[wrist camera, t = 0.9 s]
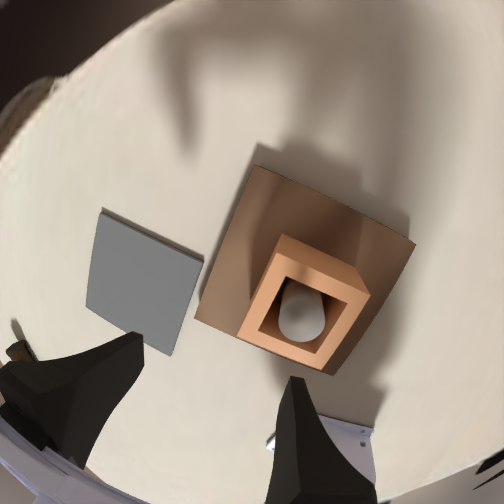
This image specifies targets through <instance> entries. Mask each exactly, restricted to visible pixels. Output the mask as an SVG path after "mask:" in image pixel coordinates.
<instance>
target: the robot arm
mask: <svg viewBox="0 0 504 504" xmlns="http://www.w3.org/2000/svg"><path fill="white" fill-rule="evenodd" d="M143 367H144V344H143V335H142V334H139V333H137V332H134V331H132V332H129V333H127V334H125V335H123V336H120V337H118V338H116V339H114V340H112V341H110V342H107V343H105V344H103V345H100V346H98V347H95V348H93V349H90V350H88V351H85V352H82V353H79V354H76V355H72V356H68V357H64V358H59V359H53V360H47V361H34V362H21V361H9V362H8V363H7V364H5V365H4V366H3V367H2V368H0V392H1V394H2V396H3V397H4V399H5V401H6V402H5V403H4V404H3V405H2V403H1V402H0V463H2V465H3V466H4V467H5V468H6V469H7V470H9V472H11V473H12V474H13V475H14V476H15V477H16V478H17V479H18V480H19V481H20V482H21V483H23V484H24V485H25V486H26V487H27V488H28V489H30V490H31V491H32V492H33V493H34V494H36V495H37V498H36V499H35V500H34V501H33V503H32V504H150V503H147V502H145V501H143V500H140V499H138V498H136V497H133V496H131V495H129V494H127V493H125V492H122V491H120V490H118V489H116V488H114V487H112V486H110V485H108V484H107V483H105V482H103V481H101V480H99V479H97V478H95V477H94V476H92V475H90V474H88V473H86V472H85V471H83V470H84V467H85V465H86V462H87V459H88V457H89V455H90V452H91V450H92V448H93V446H94V444H95V442H96V439H97V438H98V436H99V434H100V432H101V430H102V428H103V426H104V424H105V423H106V421H107V419H108V418H109V416H110V414H111V413H112V411H113V410H114V409H115V407H116V406H117V405H118V403H119V402H120V401H121V399H122V398H123V397H124V396H125V394H126V393H127V392H128V390H129V389H130V388H131V387H132V385H133V384H134V383H135V381H136V380H137V378H138V376H139V374H140V373H141V371H142V369H143ZM373 433H374V429H373V428H369V427H364V426H360V425H355V424H351V423H347V422H343V421H339V420H336V419H332V418H328V417H325V416H321V415H318V414H317V412H316V410H315V407H314V405H313V403H312V400H311V398H310V395H309V392H308V389H307V386H306V383H305V380H304V378H300V377H294V376H290V378H289V381H288V384H287V386H286V389H285V392H284V394H283V397H282V399H281V402H280V405H279V410H278V415H277V421H276V434H275V436H274V437H273V438H272V439H271V440H270V441H269V442H268V443H267V444H266V449H267V450H270V451H274V462H273V469H272V474H271V479H270V484H269V489H268V493H267V497H266V502H264V504H377V495H376V490H375V482H376V473H375V466H374V459H373V453H372V447H371V441H370V436H371V435H372V434H373Z"/></svg>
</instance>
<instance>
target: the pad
mask: <svg viewBox="0 0 504 504" xmlns="http://www.w3.org/2000/svg"><path fill="white" fill-rule="evenodd" d="M203 264H204V261H202V260H199V259H197V258H195V257H193V256H191V255H189V254H187V253H185V252H182V251H180V250H178V249H176V248H174V247H172V246H170V245H168V244H166V243H164V242H162V241H159V240H157V239H155V238H153V237H151V236H149V235H147V234H145V233H143V232H141V231H139V230H137V229H135V228H133V227H131V226H129V225H127V224H125V223H123V222H121V221H119V220H117V219H115V218H113V217H111V216H109V215H107V214H105V213H103V212H102V213H100V214H99V218H98V223H97V228H96V233H95V239H94V245H93V251H92V257H91V264H90V271H89V278H88V287H87V297H86V307H87V308H88V309H90V310H91V311H93V312H94V313H96V314H97V315H99V316H100V317H102V318H104V319H105V320H107V321H108V322H110V323H112V324H113V325H115V326H116V327H118V328H120V329H121V330H123V331H125V332H126V333H129V332H132V331H134V332H137V333H139V334H142V335H143V342H144V343H146V344H147V345H149V346H151V347H153V348H155V349H157V350H159V351H160V352H162V353H164V354H166V355H168V356H170V357H171V355H172V353H173V350H174V347H175V344H176V341H177V338H178V335H179V332H180V329H181V326H182V323H183V320H184V317H185V314H186V311H187V308H188V305H189V303H190V300H191V297H192V294H193V291H194V288H195V286H196V283H197V280H198V277H199V275H200V272H201V269H202V266H203Z"/></svg>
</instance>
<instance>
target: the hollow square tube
mask: <svg viewBox="0 0 504 504" xmlns="http://www.w3.org/2000/svg"><path fill="white" fill-rule="evenodd" d="M285 276H287V277H290V278H292V279H294V280H296V281H299V282H301V283H303V284H305V285H308V286H310V287H312V288H314V289H317V290H319V291H321V292H323V293H326V295H325V297H324V299H323V301H322V303H323V309H324V316H325V326H324V329H323V331H322V332H321V334H320V335H319V336H317V337H316V338H314V339H313V340H310V341H306V342H296V341H293V340H290V339H288V338H287V337H285V336H284V335H283V333H282V332H281V330H280V328H279V315H280V308H281V303H279V302H277V301H275V300H274V298H275V296H276V294H277V292H278V290H279V288H280V286H281V284H282V282H283V280H284V278H285ZM370 296H371V295H370V293H369V292H368V290H367V288H366V286H365V284H364V282H363V280H362V279H361V277H360V275H359V273H358V271H357V270H356V268H355V267H353V266H351V265H349V264H347V263H345V262H343V261H341V260H339V259H337V258H334V257H332V256H330V255H328V254H326V253H324V252H322V251H319V250H317V249H315V248H313V247H311V246H309V245H307V244H304V243H302V242H300V241H298V240H296V239H293V238H291V237H289V236H287V235H285V234H281V236H280V238H279V240H278V243H277V245H276V247H275V249H274V251H273V253H272V256H271V258H270V260H269V262H268V264H267V266H266V269H265V271H264V273H263V275H262V277H261V279H260V281H259V284H258V286H257V288H256V290H255V292H254V294H253V296H252V298H251V301H250V303H249V305H248V308H247V311H246V313H245V316H244V318H243V321H242V324H241V326H240V329H239V331H238V334H237V337H240V338H242V339H244V340H246V341H249V342H251V343H253V344H256V345H258V346H261V347H263V348H265V349H268V350H270V351H273V352H275V353H278V354H280V355H283V356H285V357H288V358H290V359H293V360H295V361H298V362H301V363H303V364H306V365H309V366H311V367H314V368H317V369H320V370H321V369H322V368H323V367H324V365H325V364H326V363H327V361H328V360H329V358H330V357H331V356H332V354H333V353H334V351H335V350H336V348H337V347H338V346H339V344H340V343H341V341H342V340H343V338H344V337H345V335H346V334H347V332H348V331H349V329H350V328H351V326H352V325H353V323H354V321H355V320H356V318H357V317H358V315H359V314H360V312H361V310H362V309H363V307H364V305H365V304H366V302H367V301H368V299H369V297H370Z"/></svg>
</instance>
